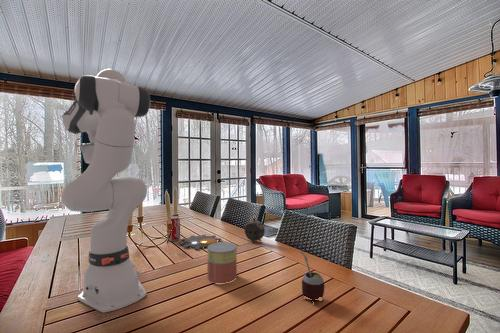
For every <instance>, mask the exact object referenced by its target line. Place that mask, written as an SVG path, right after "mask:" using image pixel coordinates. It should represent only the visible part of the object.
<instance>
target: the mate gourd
mask: <svg viewBox="0 0 500 333" xmlns="http://www.w3.org/2000/svg"><path fill="white" fill-rule="evenodd" d="M299 252H300V253H301V254H302V255H303V257H304V261H305V263H306V266H307V270H308V272H306V273H305V274H304V275H303V276H302V279H301V291H302V292H301V293H302V295H303V296H302V297H304V296H306V297H308V298H310V299H312V300H313V302H314V300H315V299H318V298H319V297H322V298H324V297H323V296H324V294H325V280H324V278H323V276H322V275H321V274H320V273H318V272H314V271H313V272H311V267H310V264H309V262H308V257H307V256H306V254H305V253H304V252H303V251H302V249H301V248H300V249H299Z"/></svg>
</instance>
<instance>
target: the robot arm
mask: <svg viewBox="0 0 500 333" xmlns="http://www.w3.org/2000/svg"><path fill="white" fill-rule="evenodd" d="M74 94H75V99H74V101H73V102H72V104H71V105H70V107H69V108H68V110H66V111H65V112H63V114H62V117H61V118H62V124H63V127H64V129H65V130H66V131H67V132H69V133H71V134H74V135H77V134H81V133H86V134H87V135H88V139H89V142H87V143H81V145H80V146H79V149H80V151H81V153H82V157H83V160H84V163H86V164H88V167H86V170H84V171H83V173H81V174H80V175H79V176H78V177H76V178H75V179H73V180H71V181H70V182H68V183H67V184H66V185H65V186H64V188H63V190H62V194H61V199H62V202H63V204H64V207H66V209H68V210H69V211H70V212H80V213H81V212H82V213H83V212H84V213H89V212H90V213H91V212H98V211H106V210H108V212H107V215H105V216H104V218H102V219H101V220H98V221H97V222H96V223H95V224H93V226H92V227H91V229H90V231H89V240H90V242H89V245H90V248H89V251H88V256H87V257H88V263H89V264H88V266H87V268H86V269H85V271H83V272H84V273H83V283H82V292H81V293H80V294H78V295H77V300H78V301H80V302H81V303H83V304H85V305H87V306H89V307H91V308H93V309H94V310H96V311H98V312H100V313H109V312H113V311H117V310H120V309H122V308H125V307H127V306H130V305H132V304H134V303H136V302H138V301H140V300H142V299H143V298H144V297H146V296H147V291H146V289H145V288H144V286H143V285H142V283H141V281H140V280H139V278H140V277H141V270H139V269H138V270H136V269H135V267H136V265H135V264H134V263H132V261H131V259H130V250H129V246H128V245H127V244H128V243H127V241H128V240H127V239H128V237H127V235H128V225H129V222H130V218H131V216H132V215H133V213H134V212H135V210H136V209H137V208H138V207H139V205H141V204H142V203H143V202H144V201H145V199H146V198H147V194H148V188H147V185H146V183H145V181H144V180H143V179H142V178H139V177H131V176H118V177H115V176H117V175H118V174H119V173H121V172H124V171H125V170H127V169H128V168H129V166H130V165H131V162H132V158H133V151H134V145H135V133H136V130H135V128H136V124H135V118H139V117H140V118H142V117H143V118H144V117H145V116H146V115H147V114H148V113H149V110H150V107H151V95H150V93H149V92H148V90H147V89H145V88H143V87H141V86H139V85H134V84H130V83H128V82H127V80H126V77H125V76H124V75H123V74H122V73H121V72H120V71H118V70H116V69H112V68H106V69H103V70H101V71H100V72H99V73H97V75H96V76H95V75H87V74H86V75H82V76H80V77H79V78H78V80H77V82H76V83H75V86H74Z"/></svg>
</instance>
